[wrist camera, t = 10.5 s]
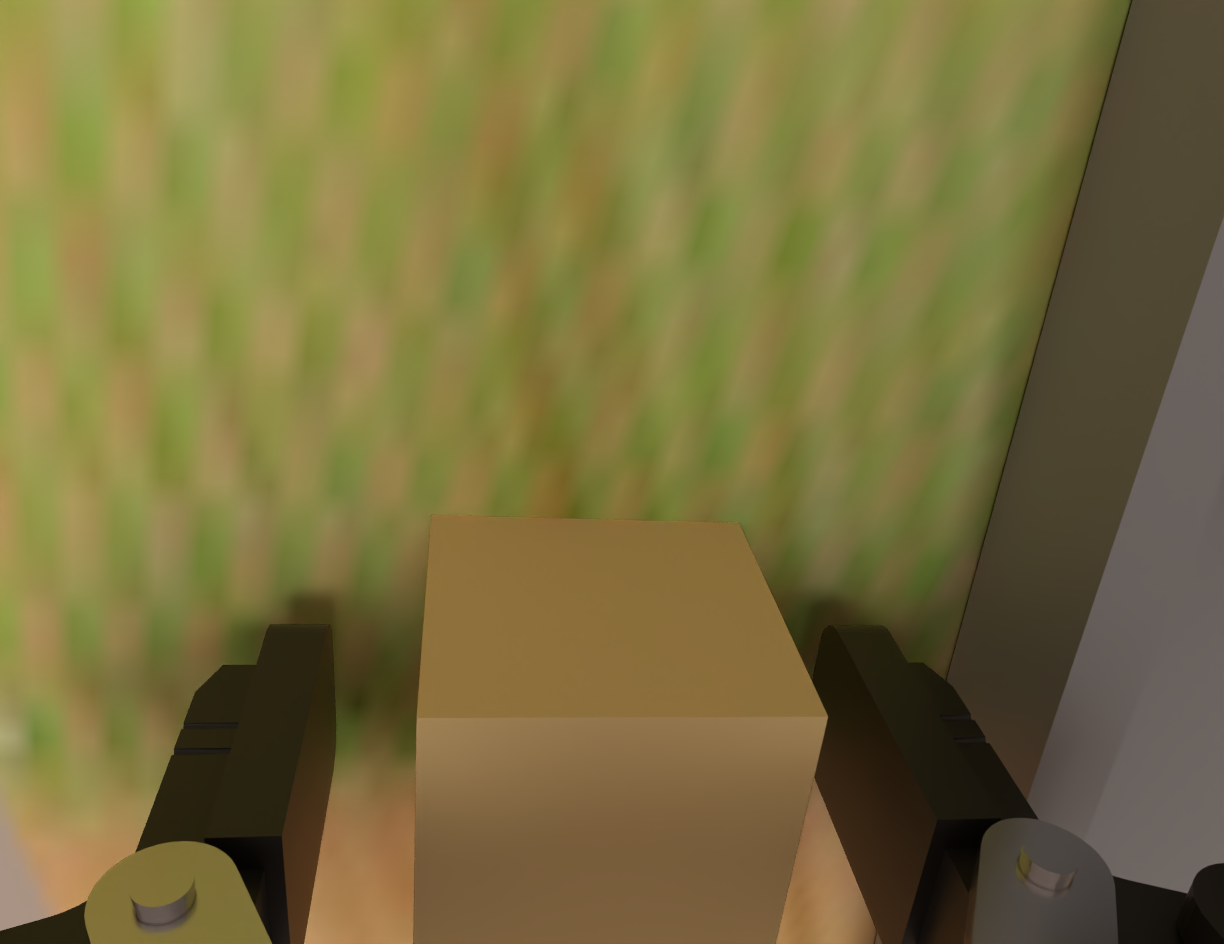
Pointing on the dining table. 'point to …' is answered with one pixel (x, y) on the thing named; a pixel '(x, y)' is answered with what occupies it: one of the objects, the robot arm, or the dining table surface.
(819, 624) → the dining table surface
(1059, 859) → the robot arm
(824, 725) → the ochre block
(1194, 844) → the tray
